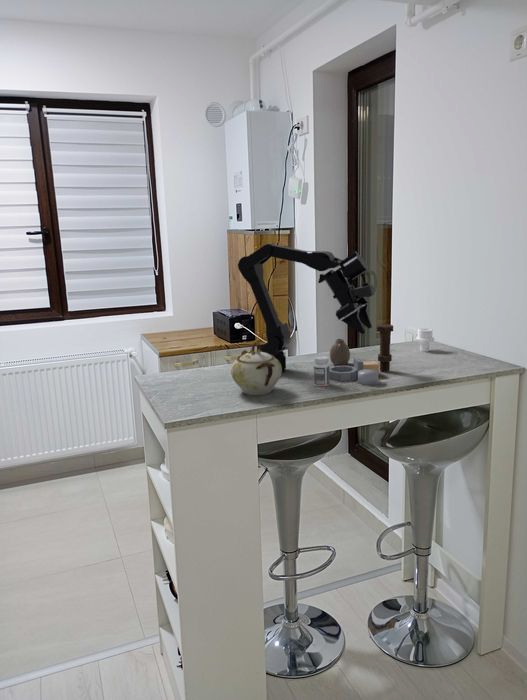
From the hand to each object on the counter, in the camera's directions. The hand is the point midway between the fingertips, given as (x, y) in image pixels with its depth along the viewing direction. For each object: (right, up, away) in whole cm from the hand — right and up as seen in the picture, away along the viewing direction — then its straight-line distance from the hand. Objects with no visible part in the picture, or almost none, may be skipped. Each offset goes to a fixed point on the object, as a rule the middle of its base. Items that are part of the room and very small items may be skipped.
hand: (367, 330), depth 182 cm
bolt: (+7, -13, +10) cm, 18 cm away
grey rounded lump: (0, -16, -3) cm, 16 cm away
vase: (-6, -11, +20) cm, 24 cm away
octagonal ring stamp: (-4, -14, +5) cm, 16 cm away
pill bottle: (-14, -17, -3) cm, 22 cm away
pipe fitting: (+28, -6, +36) cm, 46 cm away
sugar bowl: (-34, -18, -8) cm, 39 cm away
